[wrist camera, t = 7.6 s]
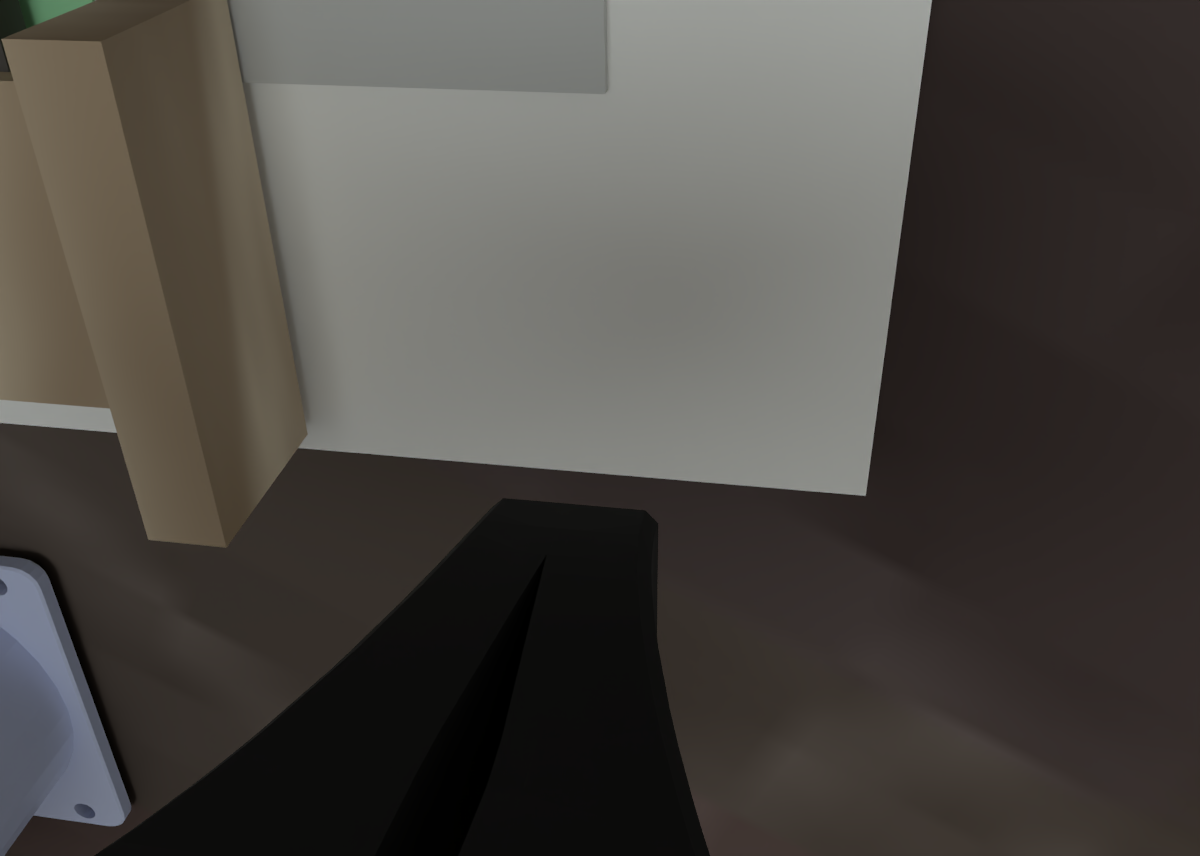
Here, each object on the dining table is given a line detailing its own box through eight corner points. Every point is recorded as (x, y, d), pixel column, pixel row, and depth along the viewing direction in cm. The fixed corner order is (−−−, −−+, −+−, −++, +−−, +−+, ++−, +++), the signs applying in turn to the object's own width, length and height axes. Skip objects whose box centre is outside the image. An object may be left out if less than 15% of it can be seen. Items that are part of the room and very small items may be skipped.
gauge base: (-198, 370, 22) (-331, 456, 19) (-405, -82, 17) (-609, -47, 15) (863, 453, 19) (868, 569, 16) (931, -70, 14) (951, -22, 12)
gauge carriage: (20, 410, 19) (-100, 515, 17) (-186, -187, 15) (-396, -164, 12) (307, 434, 19) (226, 547, 16) (191, -189, 14) (49, -167, 11)
